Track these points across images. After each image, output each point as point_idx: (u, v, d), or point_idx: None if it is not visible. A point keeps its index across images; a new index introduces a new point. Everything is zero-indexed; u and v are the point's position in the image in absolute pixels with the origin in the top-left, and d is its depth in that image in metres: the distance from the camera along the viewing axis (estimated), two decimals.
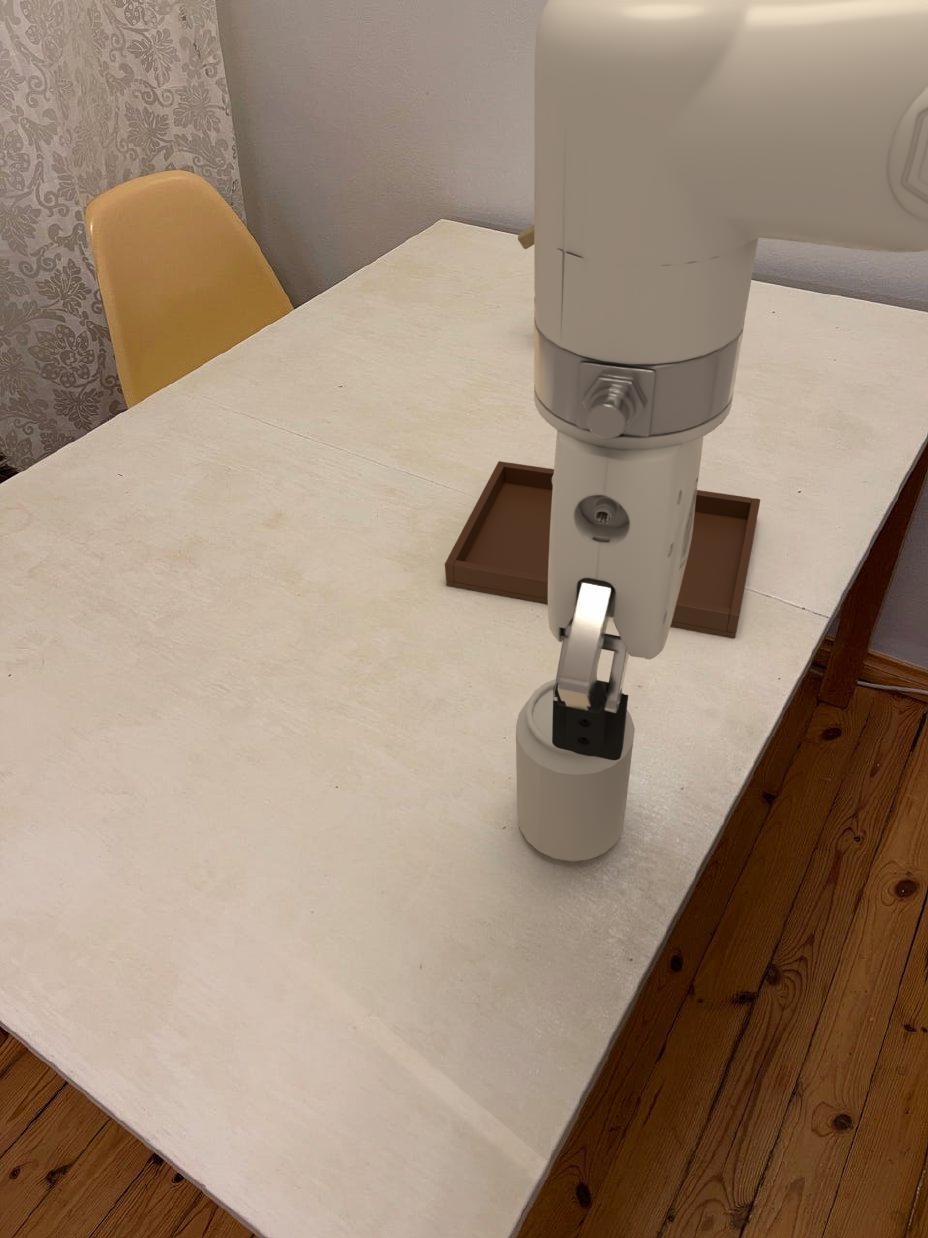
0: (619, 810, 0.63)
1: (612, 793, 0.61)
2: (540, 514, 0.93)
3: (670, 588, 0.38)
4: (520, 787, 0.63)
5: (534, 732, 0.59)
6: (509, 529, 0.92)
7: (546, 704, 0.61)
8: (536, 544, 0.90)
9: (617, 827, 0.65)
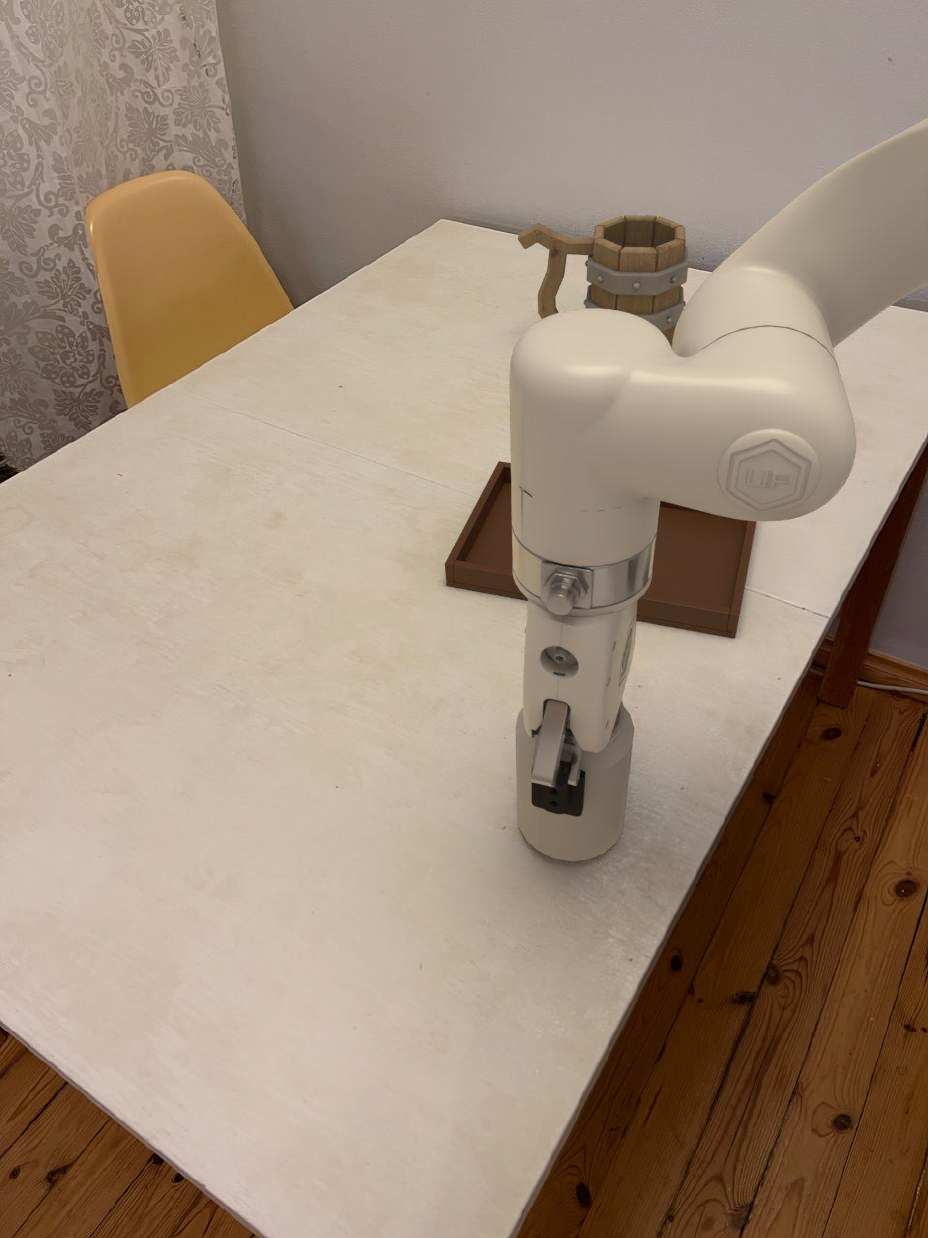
0: (619, 810, 0.63)
1: (612, 793, 0.61)
2: None
3: (610, 704, 0.53)
4: (520, 787, 0.63)
5: None
6: (509, 529, 0.92)
7: None
8: None
9: (617, 827, 0.65)
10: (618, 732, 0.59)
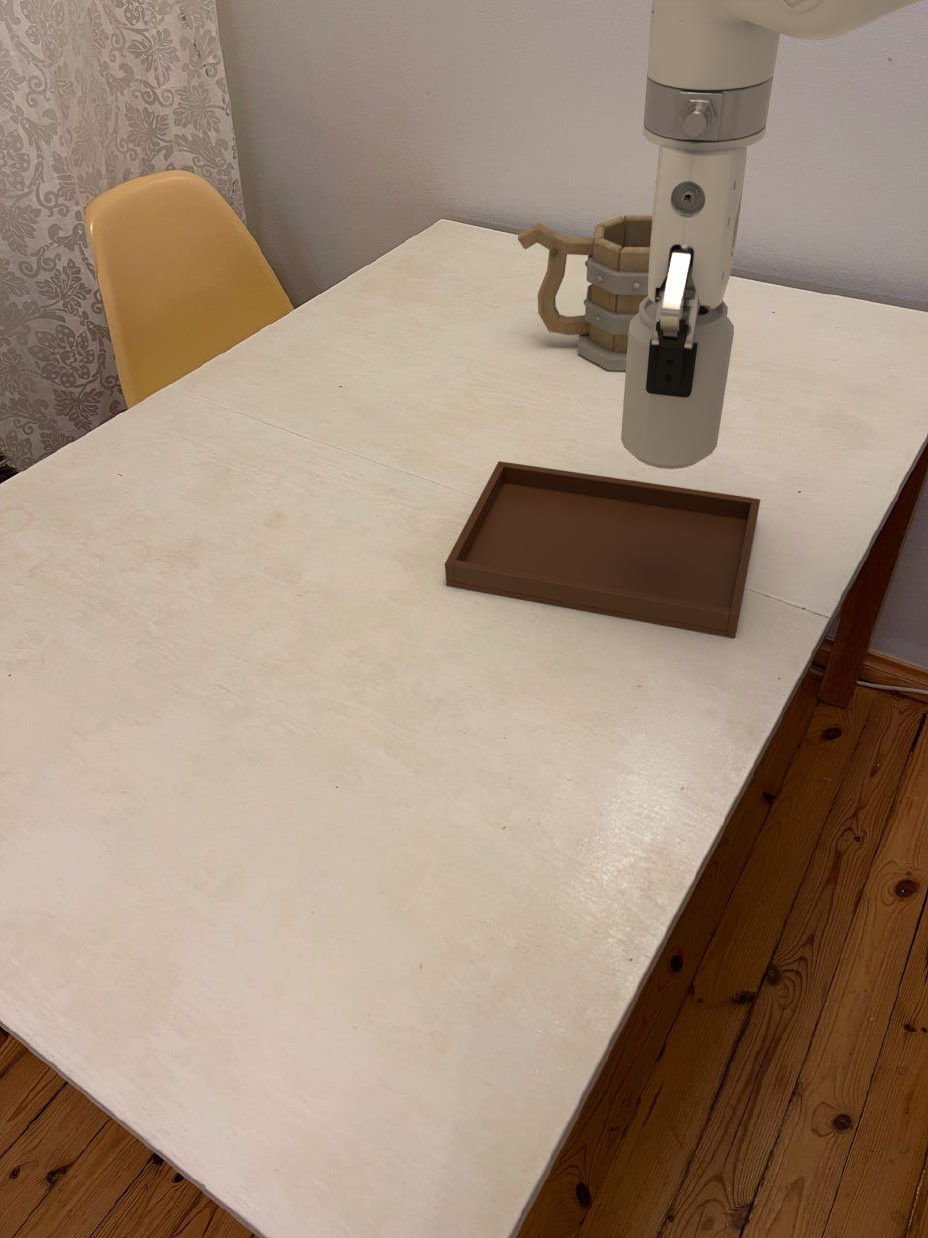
0: (717, 411, 0.72)
1: (714, 382, 0.69)
2: (540, 514, 0.93)
3: (726, 255, 0.62)
4: (630, 393, 0.72)
5: (649, 319, 0.68)
6: (509, 529, 0.92)
7: (655, 307, 0.70)
8: (536, 544, 0.90)
9: (714, 433, 0.73)
10: (723, 316, 0.67)
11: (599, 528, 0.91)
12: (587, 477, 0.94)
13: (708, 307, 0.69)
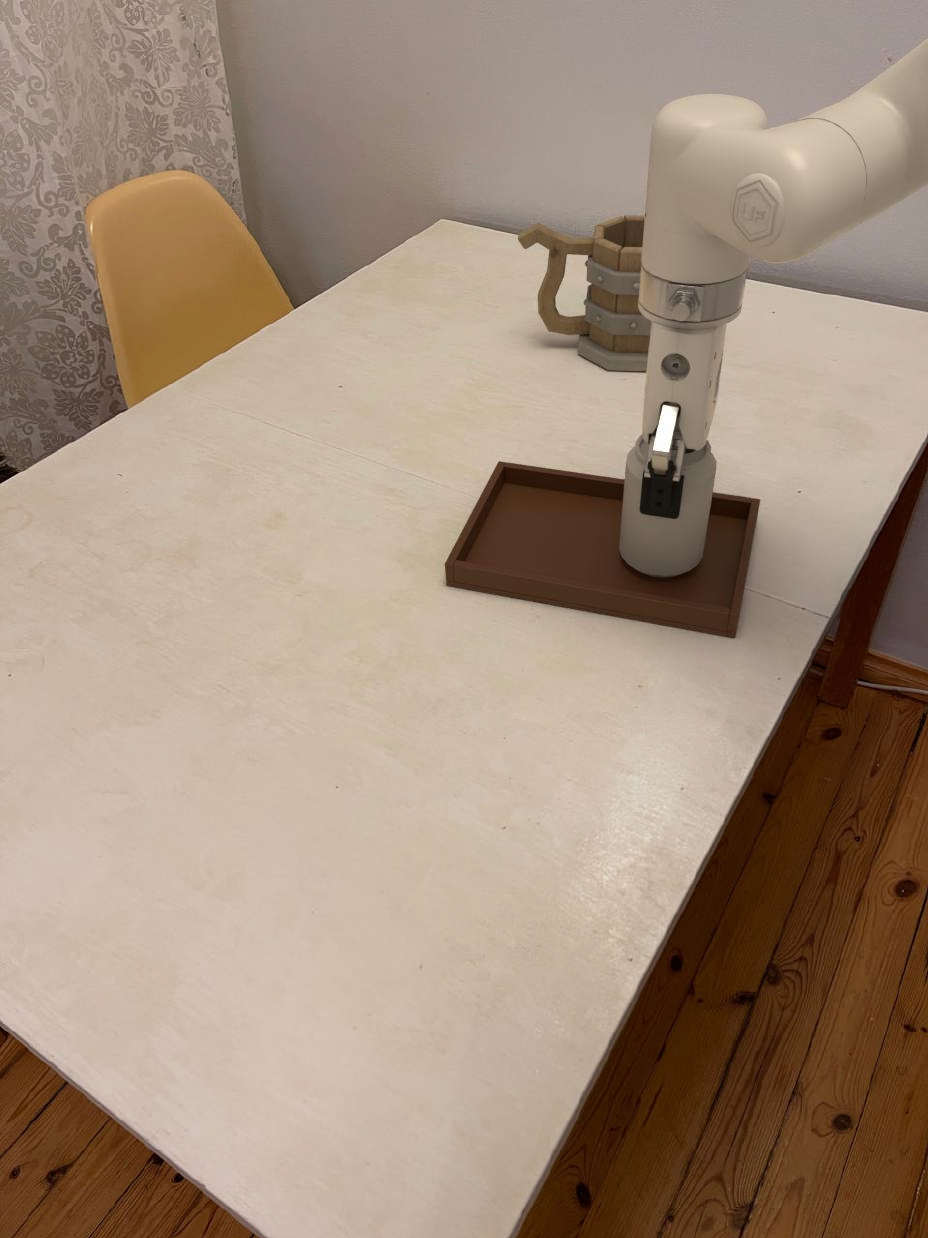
0: (702, 531, 0.83)
1: (699, 510, 0.81)
2: (540, 514, 0.93)
3: (709, 408, 0.73)
4: (626, 514, 0.83)
5: (643, 458, 0.79)
6: (509, 529, 0.92)
7: None
8: (536, 544, 0.90)
9: (699, 548, 0.84)
10: (706, 457, 0.79)
11: (599, 528, 0.91)
12: (587, 477, 0.94)
13: None
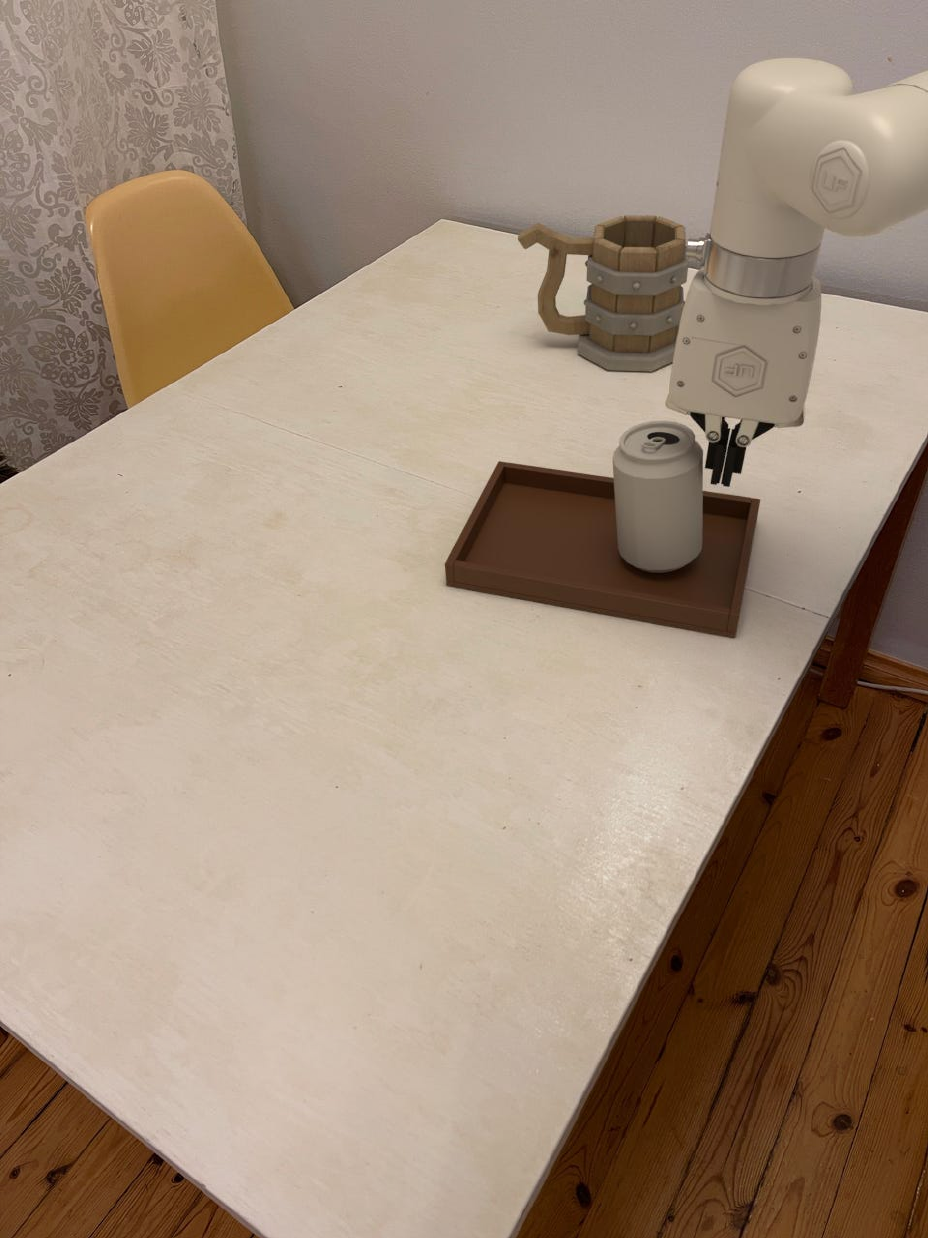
0: (697, 521, 0.83)
1: (690, 499, 0.80)
2: (540, 514, 0.93)
3: (689, 371, 0.72)
4: (619, 511, 0.83)
5: (627, 452, 0.79)
6: (509, 529, 0.92)
7: (634, 439, 0.81)
8: (536, 544, 0.90)
9: (696, 540, 0.84)
10: (690, 445, 0.79)
11: (599, 528, 0.91)
12: (587, 477, 0.94)
13: (679, 436, 0.81)
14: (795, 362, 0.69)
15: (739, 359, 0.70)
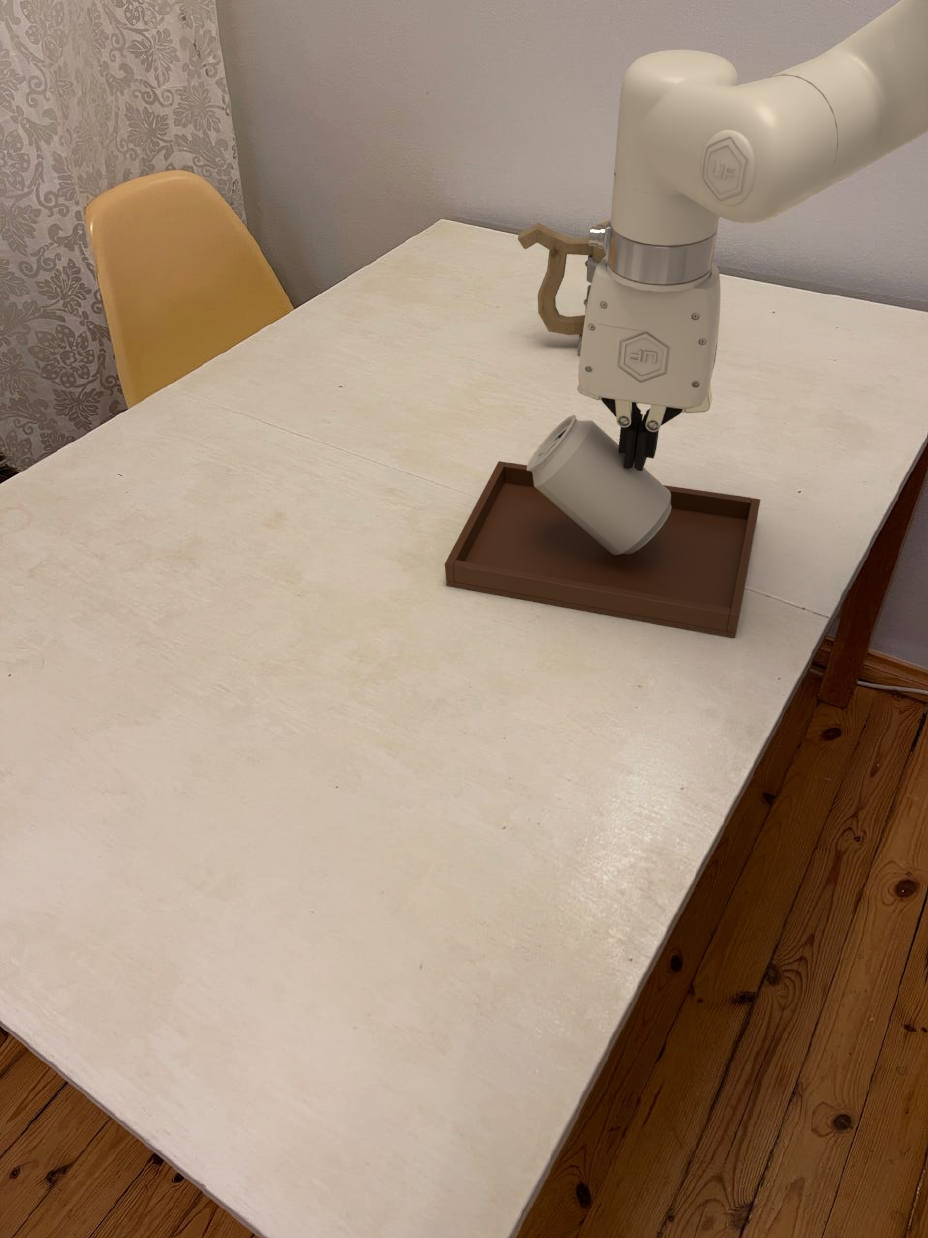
0: (634, 482, 0.82)
1: (604, 469, 0.81)
2: (540, 514, 0.93)
3: (595, 356, 0.74)
4: (572, 519, 0.86)
5: (528, 469, 0.84)
6: (509, 529, 0.92)
7: (541, 455, 0.86)
8: (536, 544, 0.90)
9: (649, 496, 0.82)
10: (568, 427, 0.81)
11: None
12: None
13: None
14: (695, 348, 0.71)
15: (642, 345, 0.72)
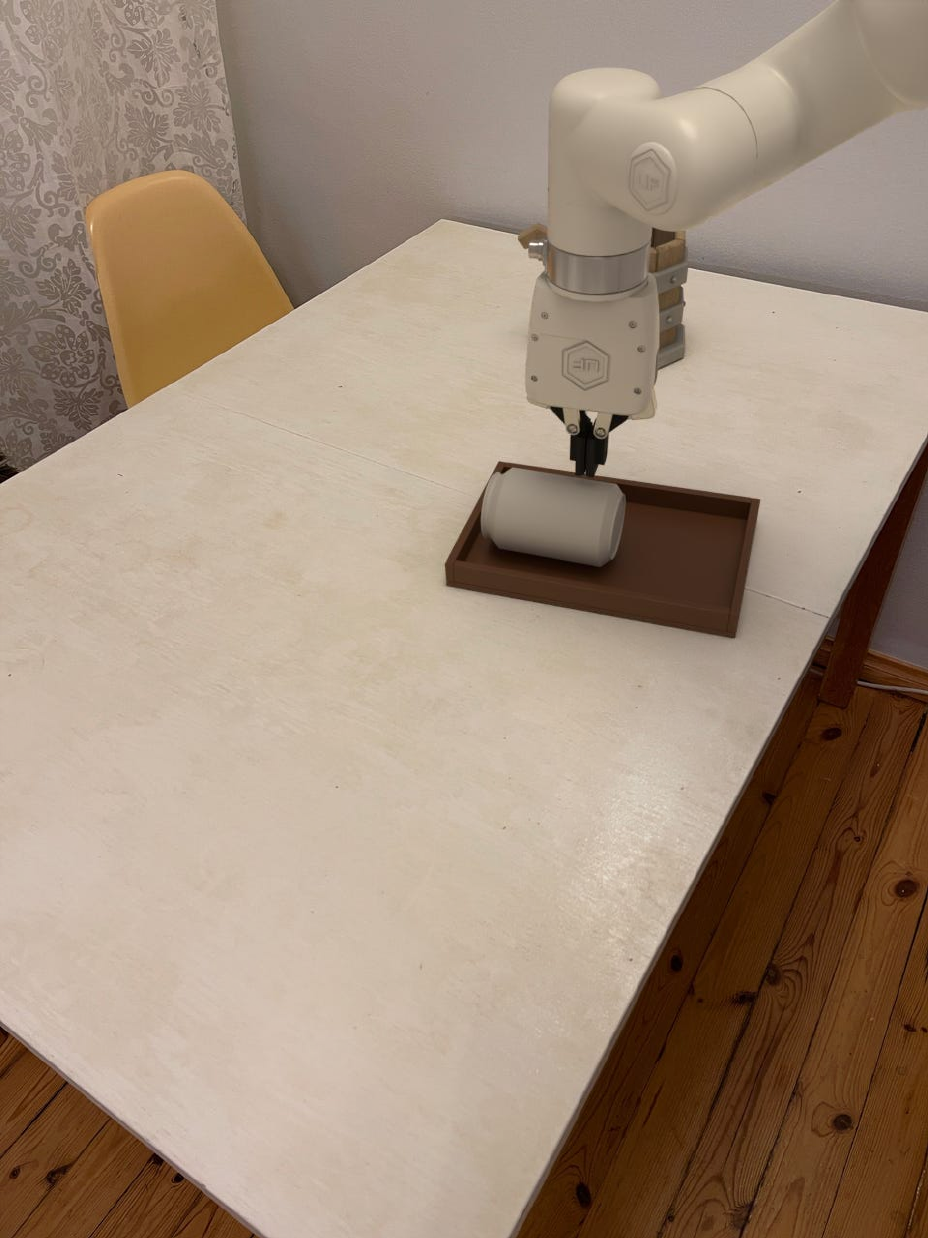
0: (560, 510, 0.83)
1: (527, 516, 0.84)
2: None
3: (540, 366, 0.76)
4: None
5: None
6: None
7: None
8: None
9: (582, 514, 0.83)
10: (484, 496, 0.86)
11: None
12: (587, 477, 0.94)
13: None
14: (635, 356, 0.73)
15: (584, 354, 0.74)
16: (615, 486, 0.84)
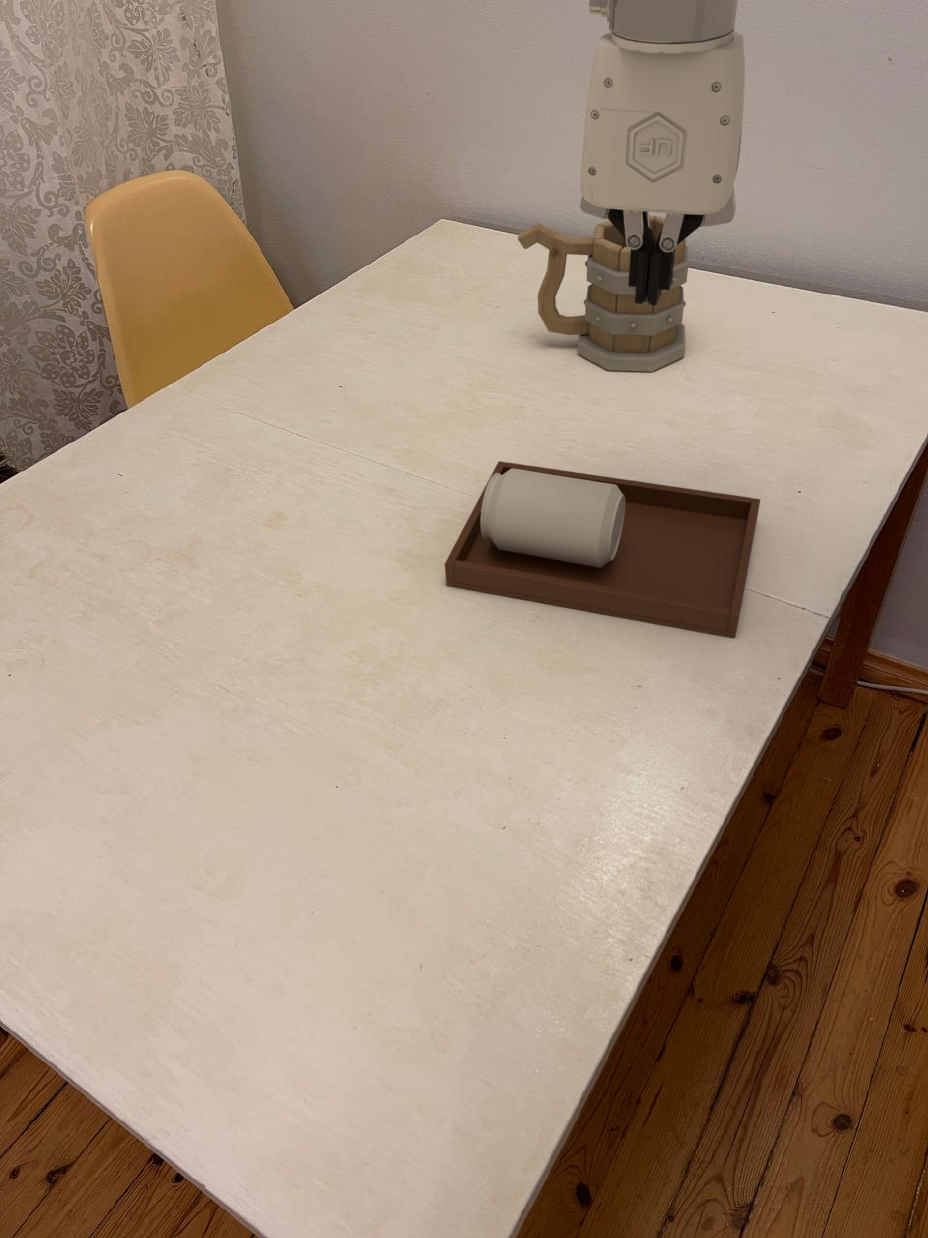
0: (560, 512, 0.83)
1: (527, 518, 0.84)
2: None
3: (600, 153, 0.64)
4: None
5: (488, 538, 0.90)
6: None
7: None
8: None
9: (581, 516, 0.82)
10: (483, 498, 0.86)
11: None
12: (587, 477, 0.94)
13: None
14: (717, 130, 0.61)
15: (654, 132, 0.62)
16: (615, 487, 0.84)
